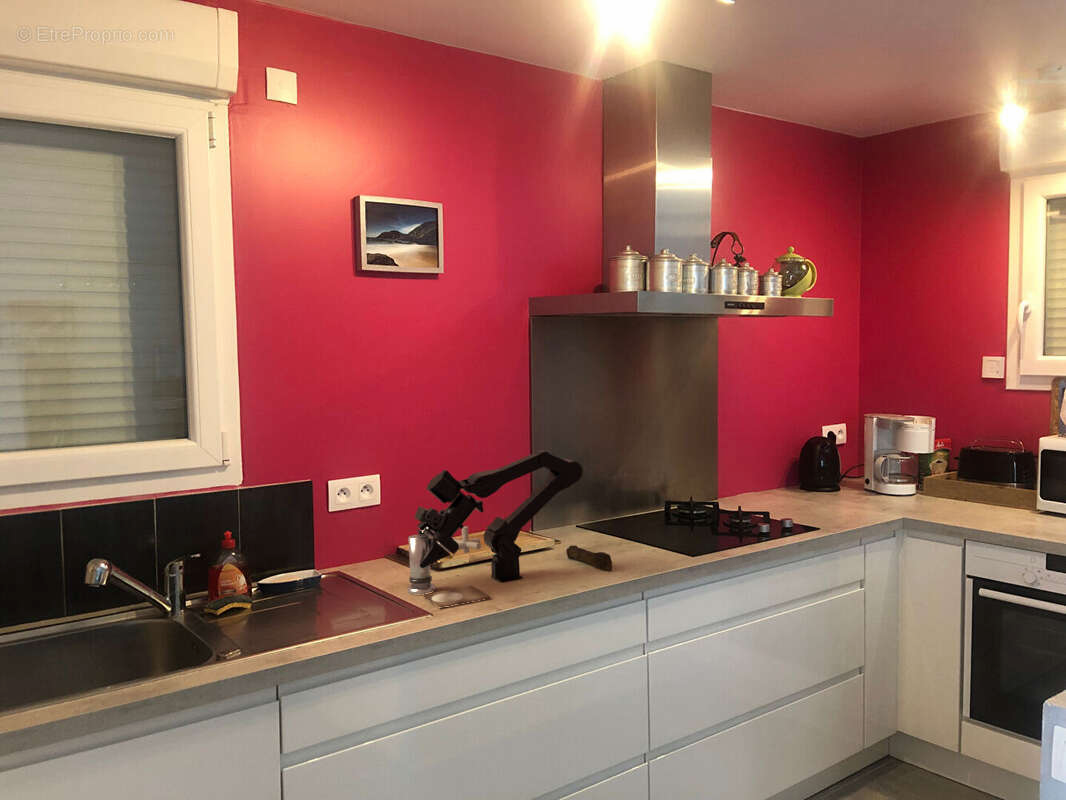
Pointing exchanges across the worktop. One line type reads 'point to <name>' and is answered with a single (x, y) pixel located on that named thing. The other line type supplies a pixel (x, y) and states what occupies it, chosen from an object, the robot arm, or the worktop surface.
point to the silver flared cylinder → (419, 575)
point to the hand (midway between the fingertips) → (415, 563)
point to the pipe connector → (467, 541)
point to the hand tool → (590, 557)
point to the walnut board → (456, 596)
